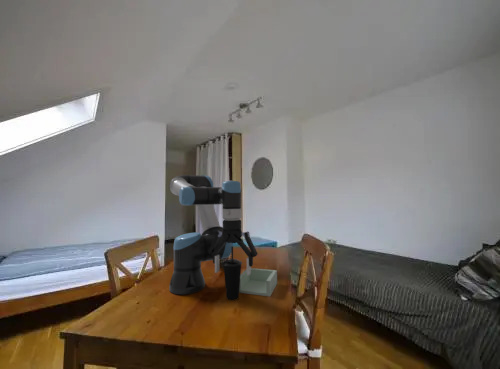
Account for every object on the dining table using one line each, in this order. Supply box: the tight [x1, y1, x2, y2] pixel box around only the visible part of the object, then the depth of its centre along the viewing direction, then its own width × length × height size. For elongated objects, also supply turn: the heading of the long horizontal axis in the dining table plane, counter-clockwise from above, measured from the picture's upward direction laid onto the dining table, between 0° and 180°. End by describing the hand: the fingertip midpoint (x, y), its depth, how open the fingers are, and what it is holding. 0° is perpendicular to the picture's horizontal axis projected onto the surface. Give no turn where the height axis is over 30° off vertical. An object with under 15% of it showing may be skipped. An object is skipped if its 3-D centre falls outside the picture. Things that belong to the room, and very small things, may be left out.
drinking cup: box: [222, 246, 243, 301], centre depth 92 cm, size 8×8×20 cm
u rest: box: [239, 267, 278, 297], centre depth 101 cm, size 14×14×6 cm
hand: (232, 273), depth 92 cm, fingers open, 13 cm apart
